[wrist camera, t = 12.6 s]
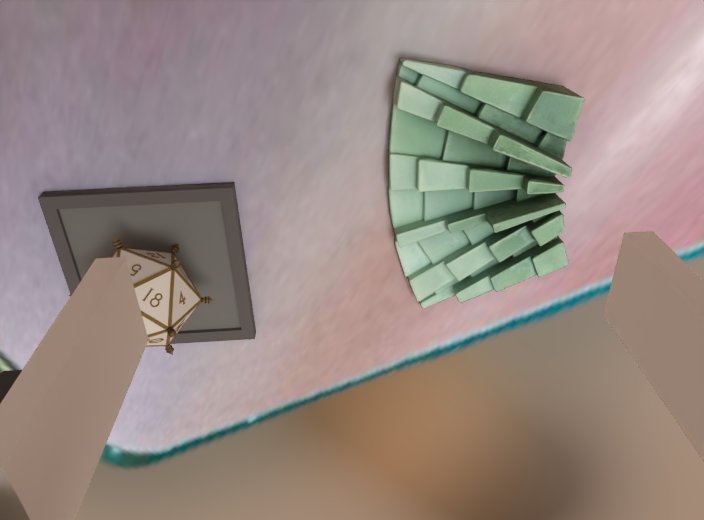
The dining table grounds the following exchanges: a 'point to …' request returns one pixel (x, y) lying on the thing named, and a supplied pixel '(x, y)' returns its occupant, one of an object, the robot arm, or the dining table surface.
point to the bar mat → (163, 244)
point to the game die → (161, 292)
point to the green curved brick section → (476, 178)
